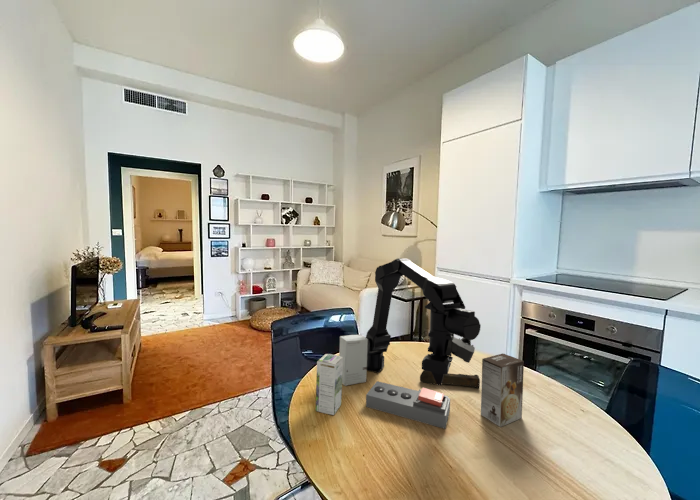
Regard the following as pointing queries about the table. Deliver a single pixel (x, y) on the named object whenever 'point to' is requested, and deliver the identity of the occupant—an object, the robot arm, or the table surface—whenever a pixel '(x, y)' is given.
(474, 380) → the hand tool
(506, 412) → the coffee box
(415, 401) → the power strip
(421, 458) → the table surface
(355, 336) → the skincare box
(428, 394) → the red flat block
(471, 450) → the table surface
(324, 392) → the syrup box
